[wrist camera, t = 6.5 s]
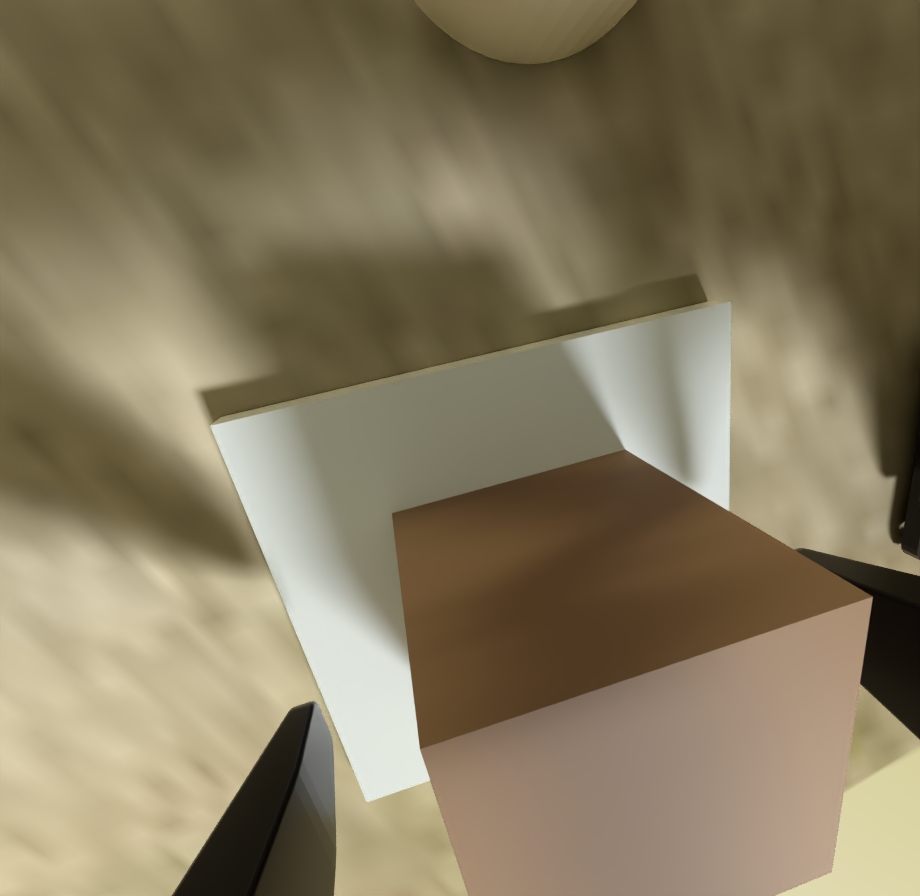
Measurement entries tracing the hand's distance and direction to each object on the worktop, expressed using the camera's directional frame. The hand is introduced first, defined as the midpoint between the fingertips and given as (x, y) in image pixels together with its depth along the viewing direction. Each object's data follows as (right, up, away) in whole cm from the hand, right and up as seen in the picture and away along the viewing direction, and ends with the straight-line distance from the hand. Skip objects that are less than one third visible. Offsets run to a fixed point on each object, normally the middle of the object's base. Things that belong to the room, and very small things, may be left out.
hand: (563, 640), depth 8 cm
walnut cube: (0, +1, +2) cm, 2 cm away
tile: (-1, +1, +2) cm, 2 cm away
